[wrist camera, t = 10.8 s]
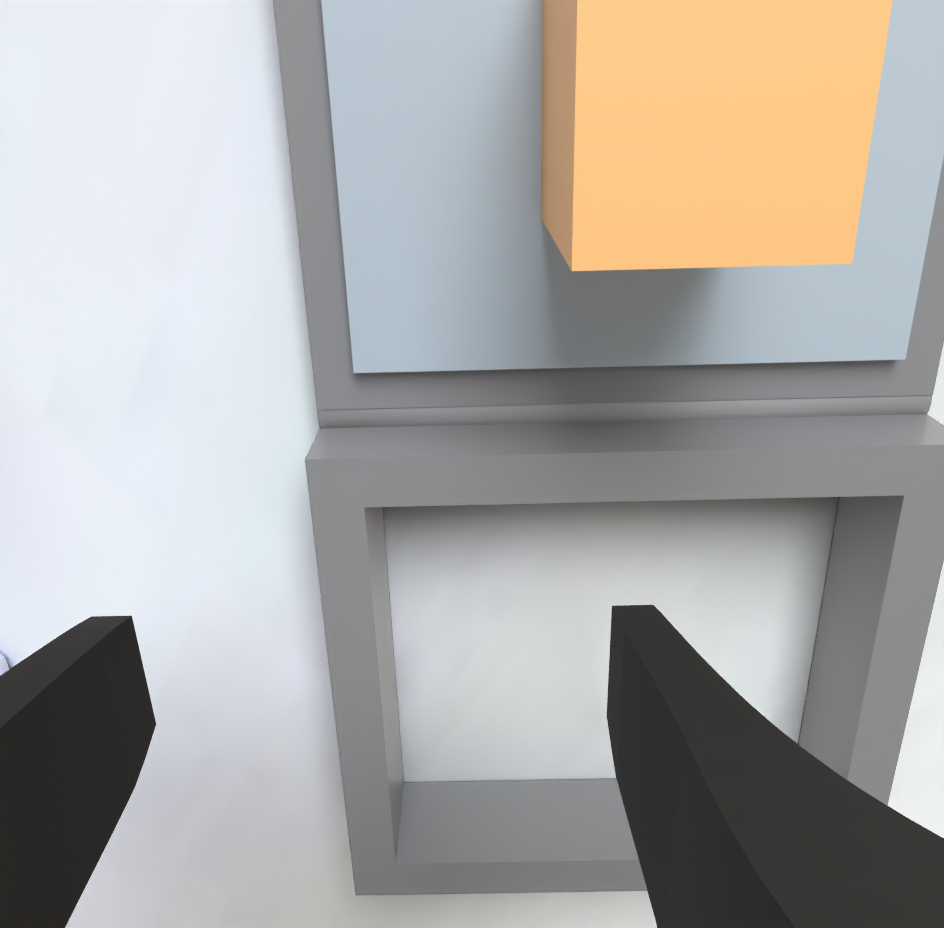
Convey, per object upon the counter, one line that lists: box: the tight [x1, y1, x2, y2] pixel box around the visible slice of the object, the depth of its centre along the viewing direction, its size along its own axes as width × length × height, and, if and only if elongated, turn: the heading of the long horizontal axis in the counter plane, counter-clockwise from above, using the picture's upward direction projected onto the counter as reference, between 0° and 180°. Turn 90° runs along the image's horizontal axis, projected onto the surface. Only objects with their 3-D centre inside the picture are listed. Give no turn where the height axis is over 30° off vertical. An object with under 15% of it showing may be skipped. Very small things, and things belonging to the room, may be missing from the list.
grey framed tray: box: [273, 0, 944, 895], centre depth 19 cm, size 14×28×3 cm, turn 1°
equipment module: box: [541, 0, 893, 271], centre depth 14 cm, size 4×5×6 cm
